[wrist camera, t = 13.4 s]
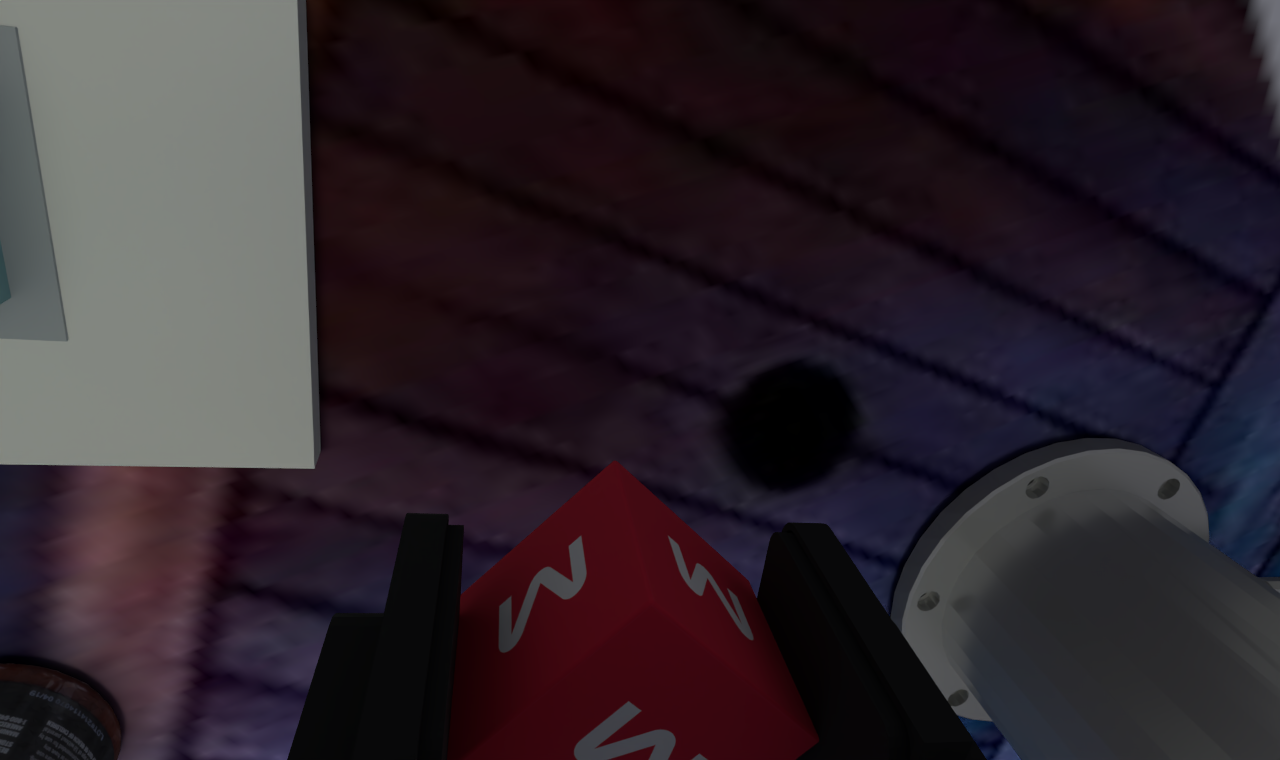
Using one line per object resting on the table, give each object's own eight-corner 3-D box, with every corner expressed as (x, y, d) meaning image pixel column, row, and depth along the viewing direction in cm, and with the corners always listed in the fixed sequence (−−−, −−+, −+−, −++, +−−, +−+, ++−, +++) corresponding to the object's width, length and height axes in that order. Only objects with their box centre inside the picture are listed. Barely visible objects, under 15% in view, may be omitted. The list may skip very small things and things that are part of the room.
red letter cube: (459, 594, 11) (442, 774, 8) (614, 457, 11) (651, 600, 8) (603, 699, 12) (630, 887, 9) (748, 580, 12) (822, 741, 9)
